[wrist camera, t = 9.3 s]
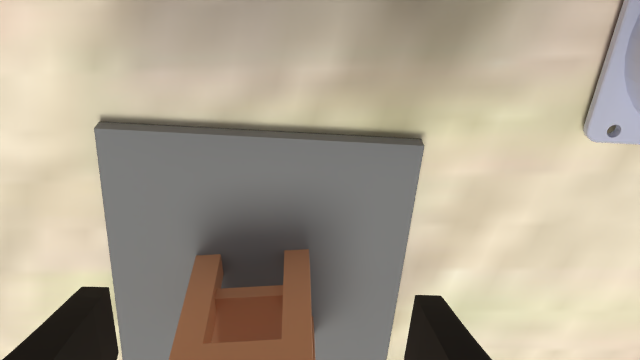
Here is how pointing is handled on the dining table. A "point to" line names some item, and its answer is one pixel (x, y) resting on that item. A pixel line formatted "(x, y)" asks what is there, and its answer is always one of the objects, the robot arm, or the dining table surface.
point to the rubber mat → (257, 225)
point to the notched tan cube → (246, 315)
